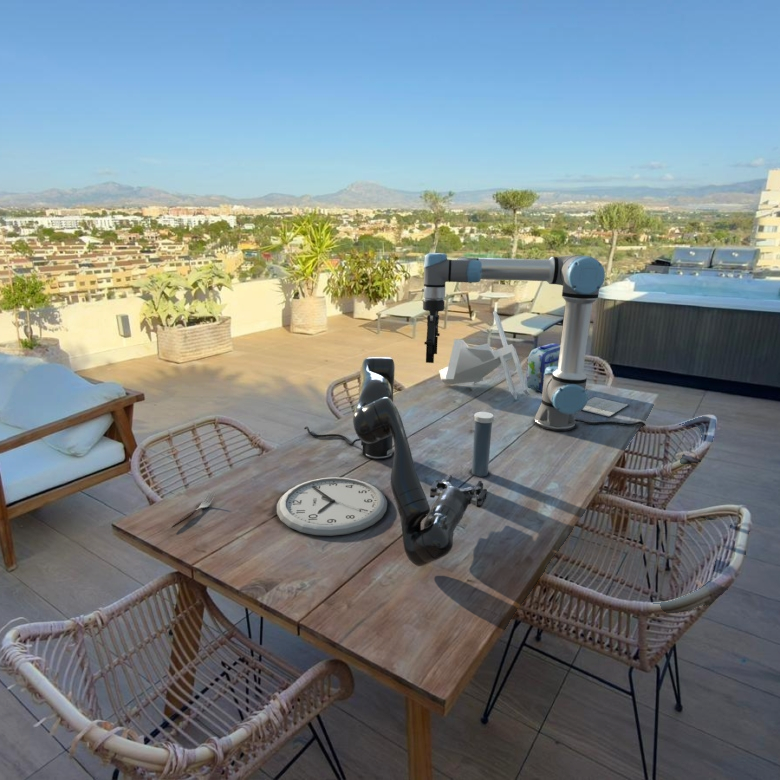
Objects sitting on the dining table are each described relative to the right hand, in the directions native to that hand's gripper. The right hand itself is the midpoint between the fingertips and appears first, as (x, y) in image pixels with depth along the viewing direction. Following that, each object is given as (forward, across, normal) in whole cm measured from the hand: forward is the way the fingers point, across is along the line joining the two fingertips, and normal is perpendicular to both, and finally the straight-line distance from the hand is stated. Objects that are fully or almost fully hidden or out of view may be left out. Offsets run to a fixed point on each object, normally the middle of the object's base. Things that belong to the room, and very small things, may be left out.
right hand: (431, 358), depth 189 cm
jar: (+28, +33, +19) cm, 47 cm away
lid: (+9, +33, +19) cm, 39 cm away
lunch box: (+28, -67, +50) cm, 88 cm away
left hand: (+21, +52, +15) cm, 58 cm away
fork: (+28, +73, -55) cm, 95 cm away
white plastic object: (+28, -52, +19) cm, 62 cm away
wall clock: (+28, +61, -20) cm, 70 cm away
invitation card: (+28, -43, +71) cm, 87 cm away
